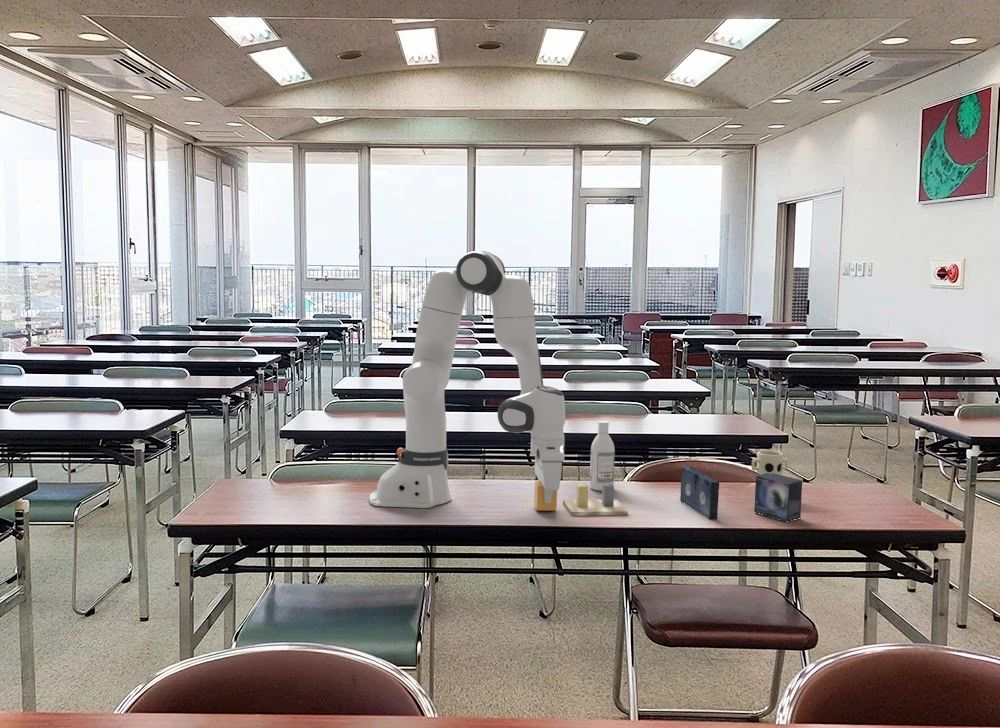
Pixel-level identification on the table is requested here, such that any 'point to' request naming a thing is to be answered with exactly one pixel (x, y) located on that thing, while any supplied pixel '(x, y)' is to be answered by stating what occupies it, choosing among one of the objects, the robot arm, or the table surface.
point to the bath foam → (602, 458)
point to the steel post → (607, 495)
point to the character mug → (769, 462)
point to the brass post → (582, 495)
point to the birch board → (594, 508)
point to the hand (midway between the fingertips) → (545, 499)
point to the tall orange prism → (539, 498)
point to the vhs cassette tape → (699, 492)
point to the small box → (778, 496)
